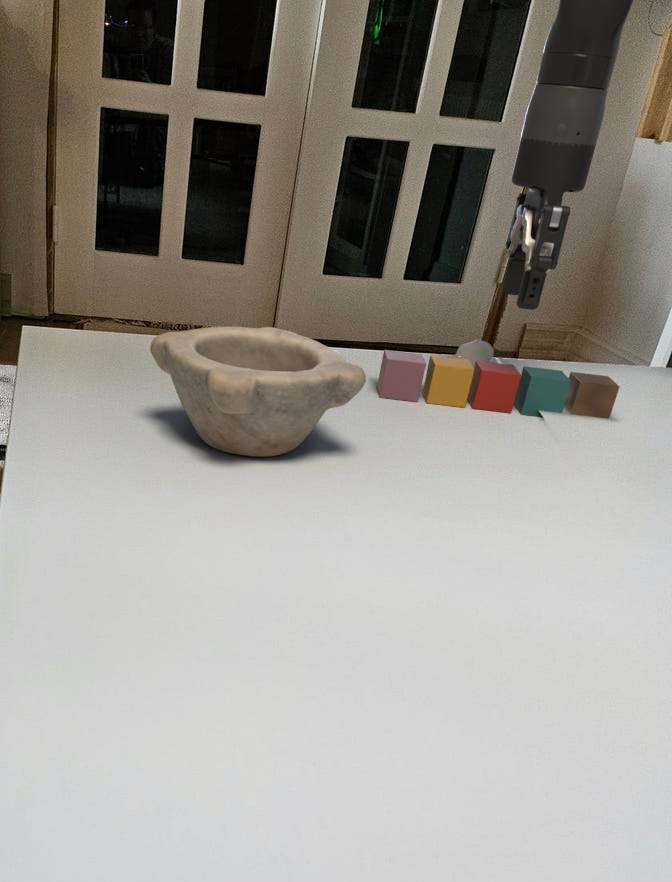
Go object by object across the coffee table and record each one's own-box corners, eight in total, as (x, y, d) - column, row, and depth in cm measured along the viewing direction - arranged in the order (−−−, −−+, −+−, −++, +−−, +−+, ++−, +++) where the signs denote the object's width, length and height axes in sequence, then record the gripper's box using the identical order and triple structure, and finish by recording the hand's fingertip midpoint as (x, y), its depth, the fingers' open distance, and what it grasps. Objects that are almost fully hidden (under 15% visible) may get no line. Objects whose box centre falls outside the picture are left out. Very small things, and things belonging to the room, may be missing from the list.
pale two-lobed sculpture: (457, 370, 129) (496, 365, 127) (448, 382, 123) (489, 377, 121) (454, 338, 128) (494, 332, 126) (446, 348, 121) (487, 342, 119)
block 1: (413, 391, 114) (421, 354, 111) (417, 402, 110) (426, 363, 108) (376, 387, 114) (384, 349, 112) (379, 397, 110) (387, 358, 108)
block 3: (550, 407, 113) (561, 370, 111) (559, 419, 109) (571, 380, 107) (513, 403, 113) (523, 365, 111) (521, 414, 109) (531, 376, 107)
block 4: (596, 413, 113) (608, 376, 111) (607, 424, 109) (620, 386, 107) (559, 408, 113) (570, 371, 111) (568, 420, 109) (580, 381, 107)
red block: (503, 402, 113) (513, 364, 111) (511, 413, 109) (521, 374, 107) (466, 397, 113) (475, 360, 111) (472, 408, 110) (482, 370, 107)
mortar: (205, 480, 82) (217, 376, 77) (134, 417, 95) (140, 324, 90) (365, 467, 89) (384, 371, 84) (278, 410, 102) (291, 323, 97)
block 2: (459, 397, 113) (468, 359, 111) (465, 407, 110) (474, 369, 107) (422, 392, 114) (430, 355, 111) (426, 403, 110) (435, 364, 107)
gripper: (615, 144, 91) (567, 318, 99) (577, 138, 103) (537, 292, 111) (537, 137, 91) (496, 310, 99) (508, 131, 103) (474, 286, 112)
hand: (518, 301), depth 105 cm, fingers open, 8 cm apart
